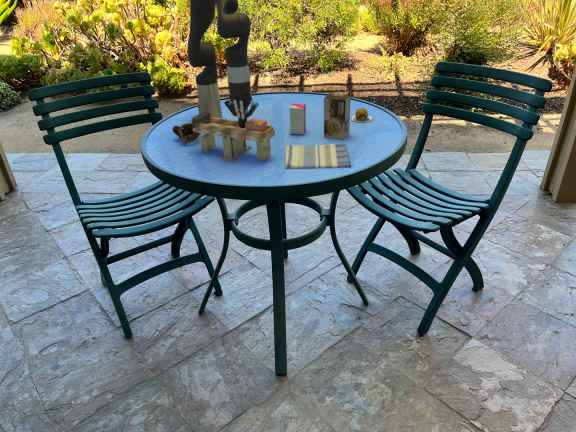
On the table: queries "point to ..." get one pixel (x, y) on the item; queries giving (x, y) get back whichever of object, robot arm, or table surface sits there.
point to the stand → (234, 147)
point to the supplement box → (297, 119)
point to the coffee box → (336, 116)
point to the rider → (256, 125)
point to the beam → (228, 128)
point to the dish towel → (317, 156)
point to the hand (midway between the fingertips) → (243, 127)
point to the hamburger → (361, 115)
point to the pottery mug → (186, 133)
